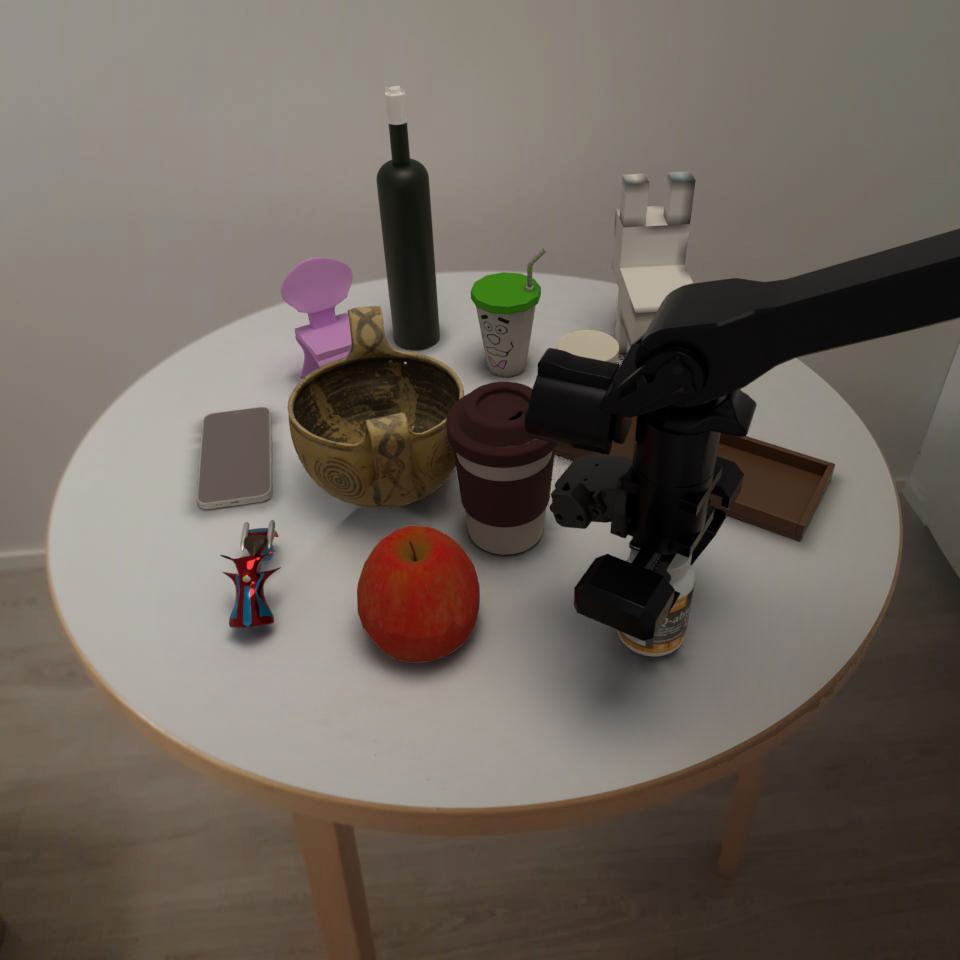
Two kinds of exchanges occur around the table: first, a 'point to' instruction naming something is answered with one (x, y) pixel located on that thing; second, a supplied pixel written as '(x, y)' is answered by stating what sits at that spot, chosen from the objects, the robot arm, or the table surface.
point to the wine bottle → (407, 235)
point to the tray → (757, 481)
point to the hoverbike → (252, 578)
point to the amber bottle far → (590, 345)
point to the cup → (507, 318)
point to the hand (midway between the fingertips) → (653, 608)
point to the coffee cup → (500, 467)
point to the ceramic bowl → (375, 420)
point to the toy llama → (649, 251)
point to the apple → (418, 595)
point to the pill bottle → (676, 620)
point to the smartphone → (235, 458)
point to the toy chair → (320, 309)
